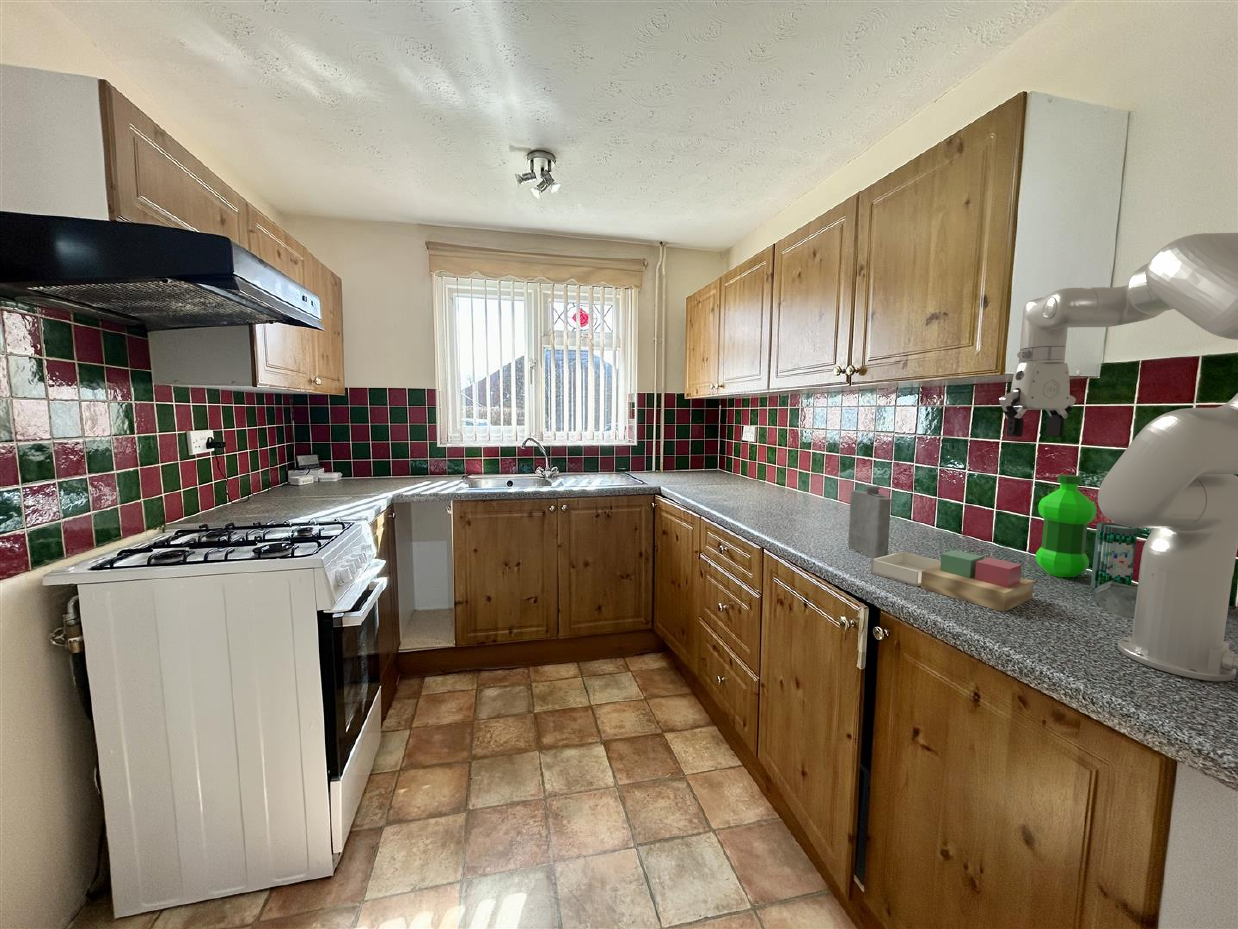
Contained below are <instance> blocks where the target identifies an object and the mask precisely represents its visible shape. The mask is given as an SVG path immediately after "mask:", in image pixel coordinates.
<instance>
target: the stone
mask: <svg viewBox="0 0 1238 929" xmlns="http://www.w3.org/2000/svg"><path fill="white" fill-rule="evenodd" d="M1137 589H1138V586H1132V585H1131V586H1129V585H1125V584H1120V583H1115V582H1112V581H1109V582H1107V583H1104V584H1102V585H1100V586H1099V587H1098V588H1096V589H1093V590H1092V591H1093V595H1094V596H1095V599H1096V601H1097V602H1098V603H1099V606H1100V608H1104V609H1106V610H1108V612H1111V613H1113V614H1115V615H1116V616H1119V617H1121V618H1125V619H1134V615H1135V607H1136V598H1137Z"/></svg>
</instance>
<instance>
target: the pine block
mask: <svg viewBox="0 0 1238 929" xmlns="http://www.w3.org/2000/svg"><path fill="white" fill-rule="evenodd" d="M940 566H941V565H940ZM940 566H937V567H934V568H930V569H927V570H924V571H922V577H921V585H920V589H924V590H927V591H930V592H934V593H937V594H940V595H944V596H947V597H951V598H953V599H957V600H961V601H965V602H967V601H968V603H972V604H975V605H976V606H977V605H978V606H981V607H985V608H989V609H992V610H995V611H999V612H1002V613H1005V612H1008V611H1009V610H1011V609H1013V608H1015V607H1017V606H1019V605H1021V604H1023V603H1027V601H1030V600H1032V599H1033V593H1034V591H1033V590H1034V584H1035V583H1034V582H1035V581H1034V580H1032V579H1028V578H1023V577H1021V579H1020V583H1018V584H1016V585H1014V586H1011V587H1009V588H1006V587H1002V586H998V585H995V584H991V583H987V582H983V581H979V580H975V576H974V577H972V578H967V577H963V576H959V575H955V574H951V573H947V572H943V571H940Z"/></svg>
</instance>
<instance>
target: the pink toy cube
mask: <svg viewBox="0 0 1238 929" xmlns="http://www.w3.org/2000/svg"><path fill="white" fill-rule="evenodd" d="M1021 578H1022V564H1021V563H1015V562H1012V561H1011V562H1010V561H1007V560H1002V559H997V558H993V557H986V558H984V559H983V560H980V561H977V562H976V571H975V580H979V581H983V582H987V583H991V584H995V585H998V586H1002V587H1006V588H1009V587H1011V586H1014V585H1016V584H1018V583H1020V579H1021Z"/></svg>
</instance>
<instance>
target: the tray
mask: <svg viewBox="0 0 1238 929" xmlns="http://www.w3.org/2000/svg"><path fill="white" fill-rule="evenodd" d="M870 564H871V565H870V566H871V567H870V574H871V573H873V574H872V575H875V574H876V576H878V575H879V577H882V578H885V577H887V578H886V579H888V578H890V579H889V580H892V579H893V581H896V582H899V583H902V584H906V583H907V584H906V585H909V586H913V587H921V577H922V571H924V570H927V569H930V568H934V567H937V566H940V565H941V559H936V558H932V557H927V556H923V555H920V554H916V553H915V554H914V553H910V552H906V551H903V550H902V551H899V552H895V553H891V554H888V555H887V556H883V557H879V558H875V559H871V563H870Z"/></svg>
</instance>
